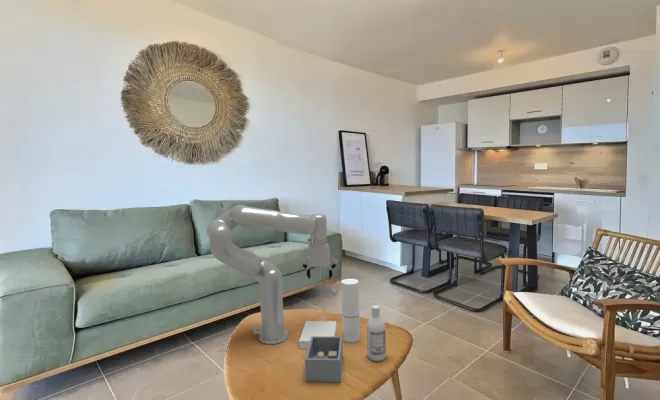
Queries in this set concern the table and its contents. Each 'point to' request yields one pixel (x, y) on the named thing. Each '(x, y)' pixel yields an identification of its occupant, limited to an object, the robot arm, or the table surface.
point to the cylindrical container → (350, 310)
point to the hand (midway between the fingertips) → (319, 277)
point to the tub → (324, 359)
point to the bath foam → (376, 336)
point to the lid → (316, 330)
